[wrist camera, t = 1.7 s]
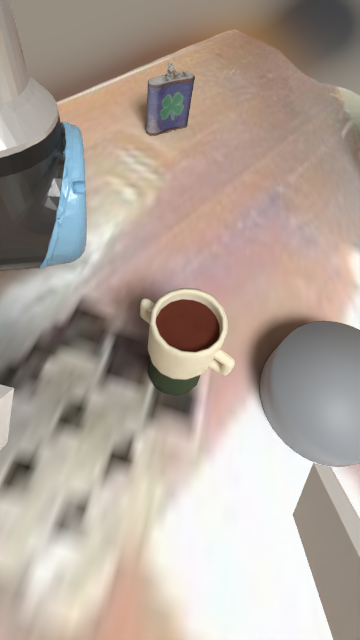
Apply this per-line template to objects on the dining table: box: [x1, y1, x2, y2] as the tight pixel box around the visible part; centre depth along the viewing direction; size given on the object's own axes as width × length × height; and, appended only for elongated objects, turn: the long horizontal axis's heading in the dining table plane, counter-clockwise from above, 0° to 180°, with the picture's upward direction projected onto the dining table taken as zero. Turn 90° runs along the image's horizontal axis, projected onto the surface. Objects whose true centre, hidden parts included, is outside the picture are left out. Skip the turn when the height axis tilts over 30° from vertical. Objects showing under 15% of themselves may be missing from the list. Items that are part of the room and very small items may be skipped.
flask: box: [146, 63, 195, 136], centre depth 61 cm, size 9×3×11 cm, turn 122°
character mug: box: [140, 288, 235, 395], centre depth 35 cm, size 11×7×13 cm, turn 54°
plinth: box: [260, 321, 360, 467], centre depth 39 cm, size 16×16×5 cm
